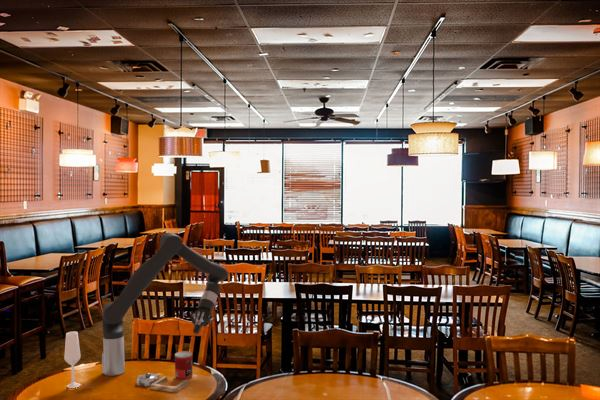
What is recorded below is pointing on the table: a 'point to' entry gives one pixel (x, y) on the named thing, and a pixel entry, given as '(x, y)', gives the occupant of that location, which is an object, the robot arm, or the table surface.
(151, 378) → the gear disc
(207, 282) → the robot arm
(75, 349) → the champagne flute
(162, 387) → the cradle
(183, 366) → the canned food
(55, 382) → the table surface
